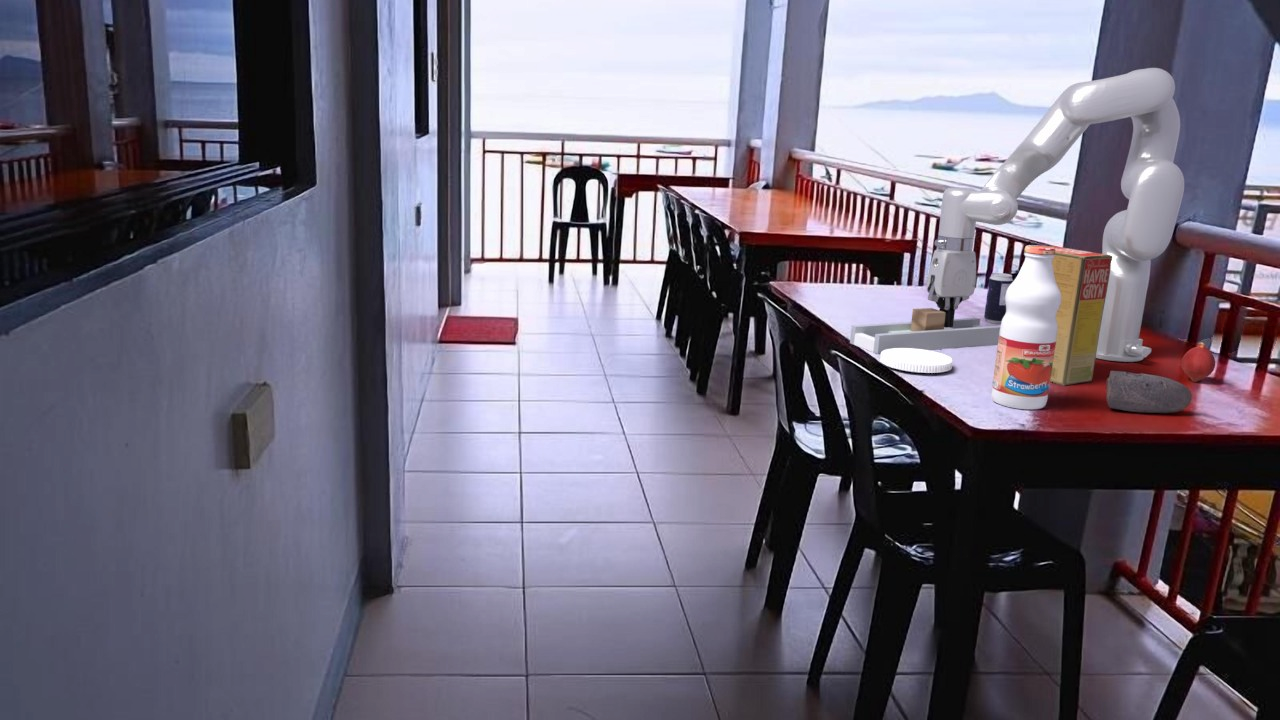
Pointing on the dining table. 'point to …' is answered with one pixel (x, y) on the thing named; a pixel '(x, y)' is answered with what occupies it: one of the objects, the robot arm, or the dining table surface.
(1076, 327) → the food packaging
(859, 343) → the trap track
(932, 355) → the plastic lid
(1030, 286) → the fruit juice
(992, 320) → the beverage can
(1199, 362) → the onion
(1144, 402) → the perforated stone tool
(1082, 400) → the dining table surface
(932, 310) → the walnut block
